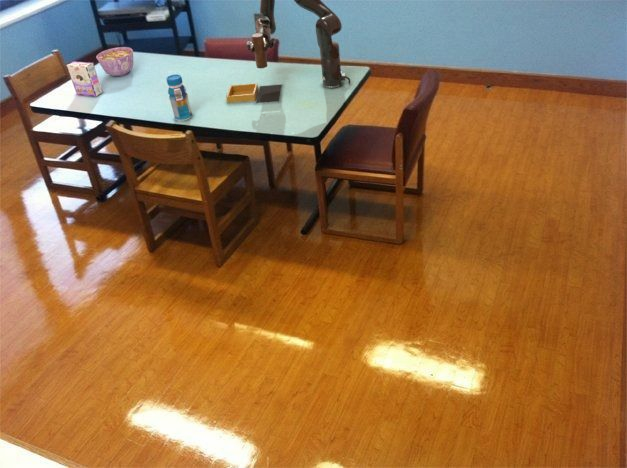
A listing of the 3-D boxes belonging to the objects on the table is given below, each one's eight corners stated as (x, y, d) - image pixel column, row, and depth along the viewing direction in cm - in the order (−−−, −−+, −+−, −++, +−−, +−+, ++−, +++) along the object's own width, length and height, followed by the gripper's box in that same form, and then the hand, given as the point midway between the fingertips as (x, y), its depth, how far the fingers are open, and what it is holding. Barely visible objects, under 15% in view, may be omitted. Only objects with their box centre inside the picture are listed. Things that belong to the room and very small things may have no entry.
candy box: (103, 92, 316) (93, 62, 307) (96, 97, 312) (85, 66, 302) (83, 90, 322) (73, 60, 312) (76, 94, 318) (65, 64, 308)
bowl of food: (133, 78, 328) (127, 58, 321) (98, 82, 329) (91, 61, 323) (142, 65, 344) (136, 45, 337) (108, 68, 346) (102, 48, 339)
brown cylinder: (267, 63, 287) (263, 32, 278) (266, 68, 283) (262, 36, 274) (257, 64, 287) (252, 33, 278) (256, 68, 283) (251, 37, 274)
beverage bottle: (171, 120, 280) (160, 80, 268) (180, 112, 286) (170, 72, 274) (186, 122, 277) (176, 81, 265) (195, 114, 283) (186, 73, 271)
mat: (282, 85, 301) (281, 84, 301) (278, 102, 285) (278, 101, 285) (260, 87, 302) (260, 86, 302) (256, 104, 286) (255, 103, 286)
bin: (258, 89, 299) (257, 83, 297) (255, 101, 288) (254, 94, 286) (231, 91, 300) (230, 85, 298) (227, 103, 290) (226, 96, 288)
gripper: (246, 30, 289) (242, 43, 276) (275, 28, 288) (272, 40, 275) (249, 46, 294) (244, 59, 280) (277, 43, 293) (275, 56, 279)
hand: (258, 49), depth 277 cm, fingers closed on brown cylinder, 5 cm apart
